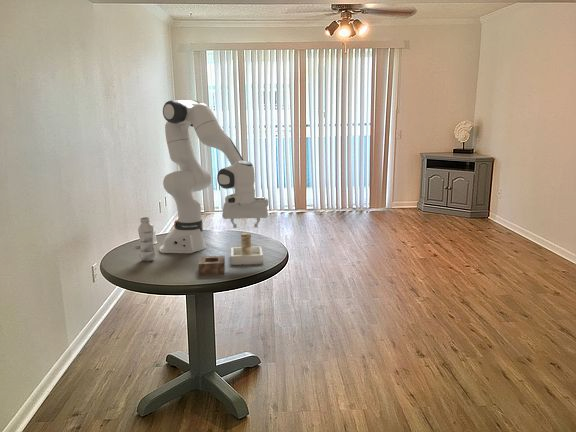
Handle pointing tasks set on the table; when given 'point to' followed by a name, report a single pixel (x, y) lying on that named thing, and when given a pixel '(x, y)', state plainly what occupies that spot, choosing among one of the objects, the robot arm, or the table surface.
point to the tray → (246, 256)
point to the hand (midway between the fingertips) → (245, 227)
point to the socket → (211, 265)
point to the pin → (246, 243)
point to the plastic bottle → (146, 240)
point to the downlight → (154, 235)
